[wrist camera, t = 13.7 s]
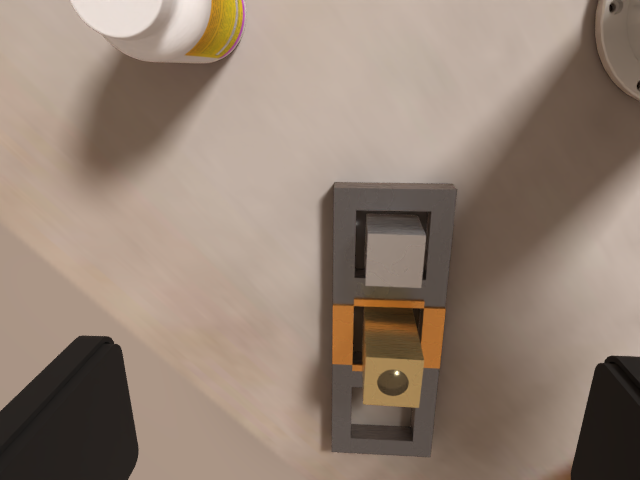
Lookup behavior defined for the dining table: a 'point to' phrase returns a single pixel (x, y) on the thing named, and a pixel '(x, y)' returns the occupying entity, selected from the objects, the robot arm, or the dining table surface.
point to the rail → (355, 293)
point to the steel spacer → (394, 250)
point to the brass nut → (391, 357)
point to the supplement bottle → (167, 27)
